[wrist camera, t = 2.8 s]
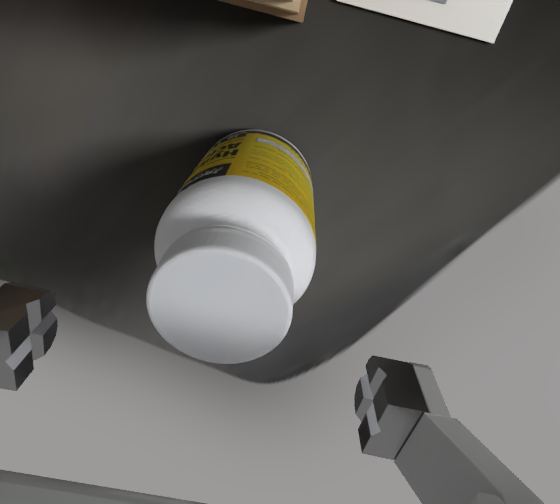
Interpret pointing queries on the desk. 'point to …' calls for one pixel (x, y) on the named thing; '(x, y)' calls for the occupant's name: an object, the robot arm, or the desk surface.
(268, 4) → the brick tower
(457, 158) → the desk surface
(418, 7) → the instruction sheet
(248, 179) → the supplement bottle
